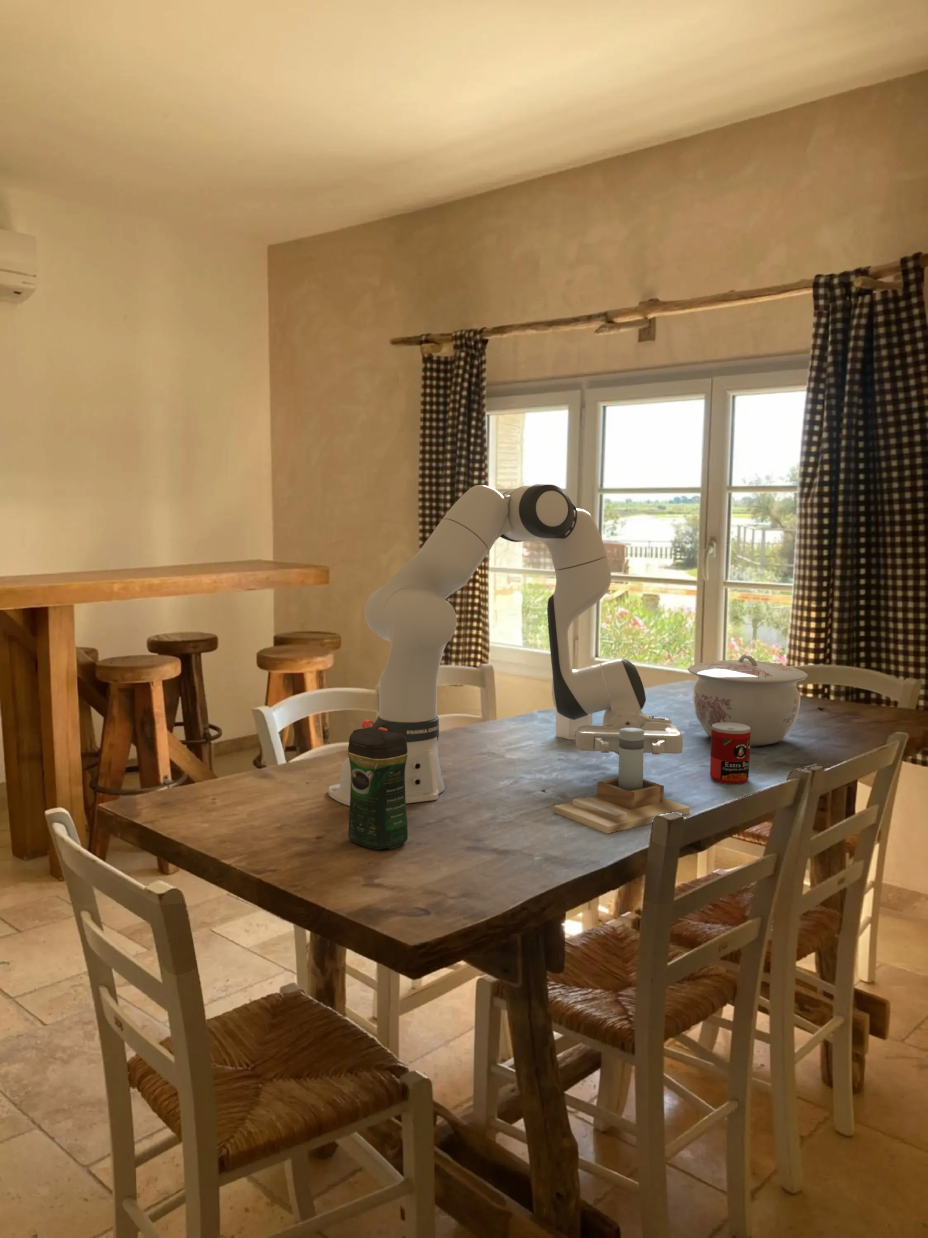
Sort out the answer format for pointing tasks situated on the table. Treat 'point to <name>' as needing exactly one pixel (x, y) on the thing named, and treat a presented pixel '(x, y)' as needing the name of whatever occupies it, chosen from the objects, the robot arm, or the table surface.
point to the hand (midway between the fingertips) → (630, 749)
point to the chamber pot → (748, 696)
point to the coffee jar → (377, 788)
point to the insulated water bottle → (631, 758)
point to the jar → (570, 725)
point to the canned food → (730, 752)
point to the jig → (620, 806)
